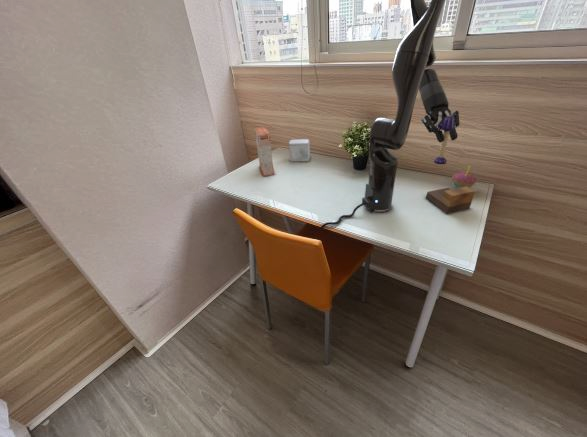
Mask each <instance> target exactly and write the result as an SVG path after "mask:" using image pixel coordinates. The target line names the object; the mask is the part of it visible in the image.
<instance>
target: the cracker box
mask: <svg viewBox="0 0 587 437" xmlns="http://www.w3.org/2000/svg"><path fill="white" fill-rule="evenodd" d="M253 130H254V135H255V141H256V150H257V158H258V163H259V168H260V170H261V173H262V176H263V177H268V176H273V175H275V170H274V163H273V162H274V161H273V155H272V154H273V152H272V144H271V143H272V142H271V136H270V132H269V131H268V129H267V127H266V126H258V127H254V129H253Z"/></svg>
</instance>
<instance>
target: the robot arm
mask: <svg viewBox="0 0 587 437" xmlns="http://www.w3.org/2000/svg"><path fill="white" fill-rule="evenodd" d="M446 1H447V0H431V1H430V3H429V5H427V2H426V0H409V10H410V15H411V16H410V17H411V30H409V31H408V33H407V34H406V35H405V36H404V38H403V39H402V40H401V42H400V43H399V44H398V47H397V49H396V53H395V56H394V60H393V65H392V68H391V77H392V82H393V86H394V89H395V93H396V94H395V95H396V98H397V109H396V116H395V118H390V117H384V116H383V117H377V118H376V119H375V120H374V121H373V122H372V125H371V126H370V131H369V142H368V144H369V145H368V146H369V147H368V159H369V171H368V182H367V183H365V191H364V192H365V193H364V197H362V198H361V203H360V204H358V205H357V206H356V207H354V209H353V211H352V213H351V214H344V215H340V216H339V218H338V220H337V221H330V222H325V223H323V224H322V225H321V226H320V229H324V227H326V226H329V225H330V226H334V225H338V224H340V222H341V221H342V219H343V218H351V217H353V216H355V213H356V211H357V210H358V209H360V208H361V207H363V206H364V207H365V208H366V209H367V210H368V211H369V212H370V213H380V214H381V213H387V212H389V211H390V210H391V209H392V203H393V196H394V188H395V182H396V175H397V170H398V163H399V159H398V157H397V156H396V155H395V154H394V153H393V152H391V150H394V151H398V150H400V149H401V148H402V147H403V146H404V144H405V142H406V140H407V137H408V134H409V130H410V125H411V123H412V122H411V121H412V117H413V112H414V108H415V104H416V103H415V102H416V99H417V95H418V92H419V94H420V99H421V102H422V105H423V108H424V111H425V115H424V116H423V117H422V118H421V122H422V124H423V125H424V127H425V128H426V130H427V131H428V133H430V134H431V133H433V134H435V137H436V140H437V142H438V143H442V142H443V141H444V140H445V138H444V135H443V134H444V131H443V130H441V124H442V122H443V120H444V118H445V117H447V116H453V117H454V118H455V129H454V130H451V131H450V132H449V137H450V140H451V141H455V140H457V139H458V138H459V137H458V136H459V135H458V132H457V130H456V129H457V128H458V127H459V126H460V123H461V122H460V113H459V110H455V111H451V109H450V108H449V104H450V103H449V100H448V97H447V95H446V92H445V89H444V87H443V85H442V83H441V81H440V78H439V75H438V73H437V70H436V69H434V68H429V67H431V66H433V65H434V63H435V62H436V58H437V54H436V50H435V44H434V38H435V34H436V31H437V27H438V24H439V20H440V18H441V14H442V11H443V9H444V6H445V3H446Z"/></svg>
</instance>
